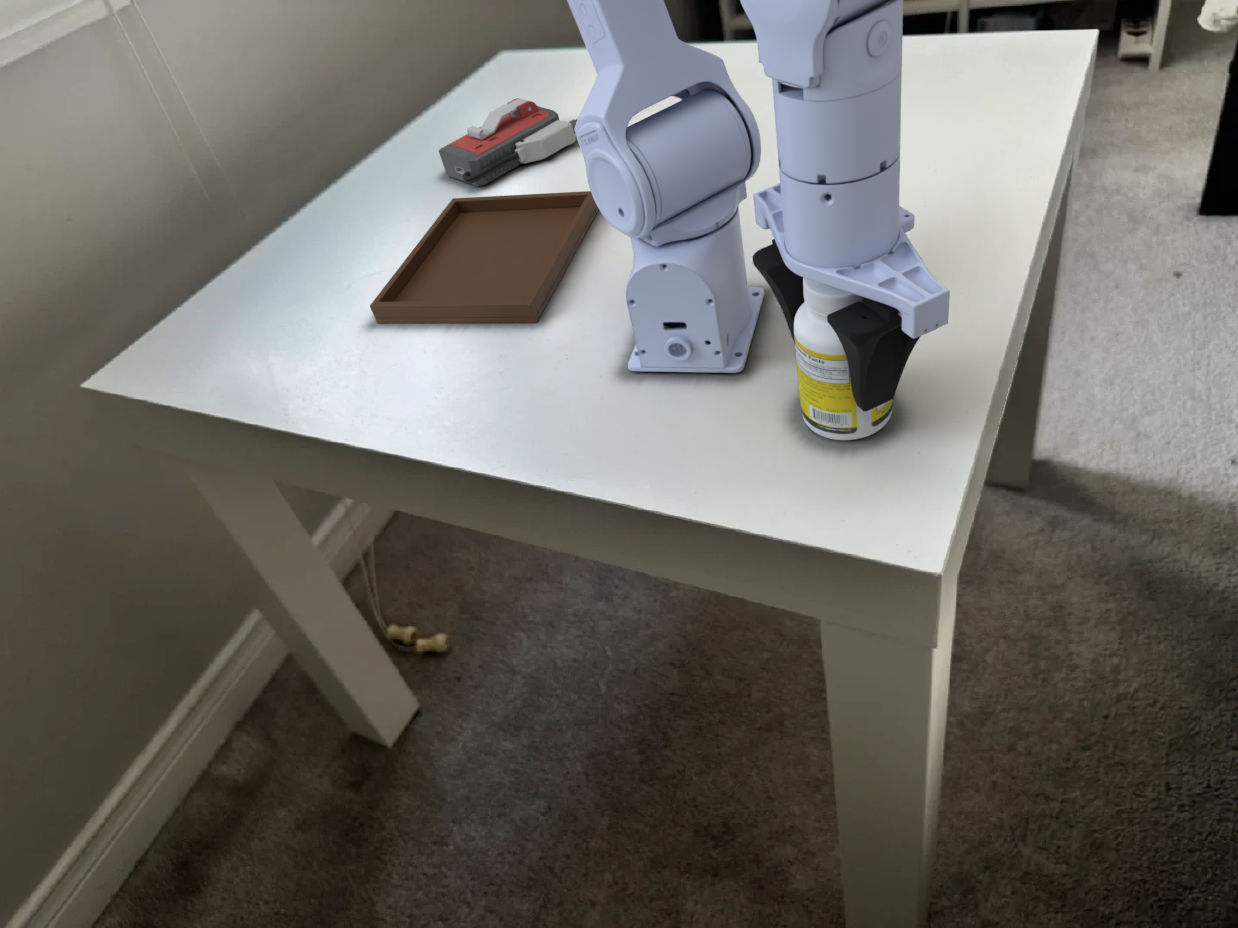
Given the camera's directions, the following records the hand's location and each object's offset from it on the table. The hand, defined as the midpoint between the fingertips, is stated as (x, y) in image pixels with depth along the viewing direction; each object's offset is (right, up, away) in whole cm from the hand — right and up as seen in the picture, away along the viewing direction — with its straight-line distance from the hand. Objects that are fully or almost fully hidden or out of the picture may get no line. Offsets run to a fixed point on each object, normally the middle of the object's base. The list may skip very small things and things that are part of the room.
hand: (845, 376), depth 53 cm
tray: (-24, +12, +24) cm, 36 cm away
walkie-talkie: (-22, +27, +40) cm, 53 cm away
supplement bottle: (+1, -2, +2) cm, 3 cm away
